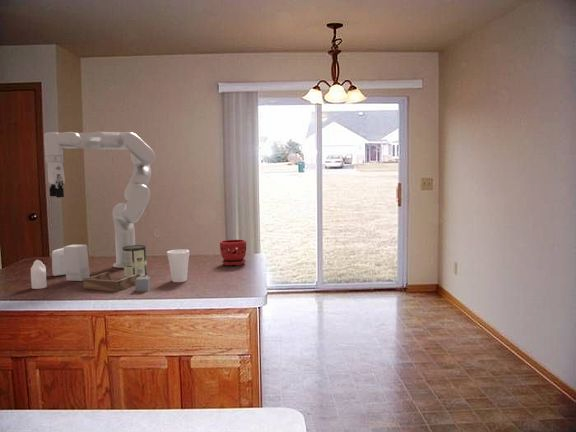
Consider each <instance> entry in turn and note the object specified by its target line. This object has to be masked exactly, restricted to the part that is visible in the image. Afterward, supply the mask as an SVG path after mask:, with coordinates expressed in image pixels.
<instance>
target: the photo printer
mask: <svg viewBox="0 0 576 432" xmlns="http://www.w3.org/2000/svg"><path fill="white" fill-rule="evenodd" d="M51 264H52V265H51V267H52V276H53V277H56V276H57V277H58V276H64V275H65V276H66V269H65V258H64V248H62V247H61V248H58V249H57V248H56V249H55V250H52V252H51Z"/></svg>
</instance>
